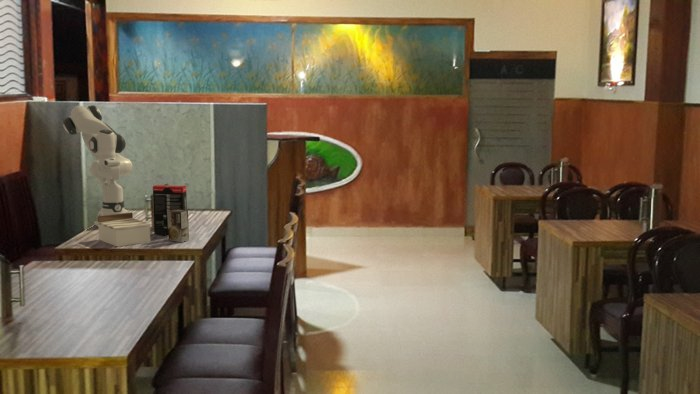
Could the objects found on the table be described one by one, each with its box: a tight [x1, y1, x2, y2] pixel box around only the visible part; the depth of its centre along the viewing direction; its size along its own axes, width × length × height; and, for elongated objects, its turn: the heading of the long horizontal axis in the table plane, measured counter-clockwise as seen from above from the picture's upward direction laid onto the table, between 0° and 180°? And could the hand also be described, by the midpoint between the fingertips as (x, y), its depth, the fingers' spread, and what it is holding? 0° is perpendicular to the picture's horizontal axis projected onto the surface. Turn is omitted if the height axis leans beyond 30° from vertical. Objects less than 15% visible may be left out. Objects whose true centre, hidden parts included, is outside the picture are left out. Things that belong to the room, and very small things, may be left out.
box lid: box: [97, 211, 151, 230], centre depth 381 cm, size 22×18×4 cm
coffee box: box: [167, 209, 190, 243], centre depth 385 cm, size 9×6×16 cm
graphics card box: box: [152, 184, 188, 236], centre depth 399 cm, size 17×7×27 cm, turn 84°
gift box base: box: [97, 224, 151, 247], centre depth 382 cm, size 22×18×9 cm
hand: (108, 186), depth 391 cm, fingers open, 5 cm apart
